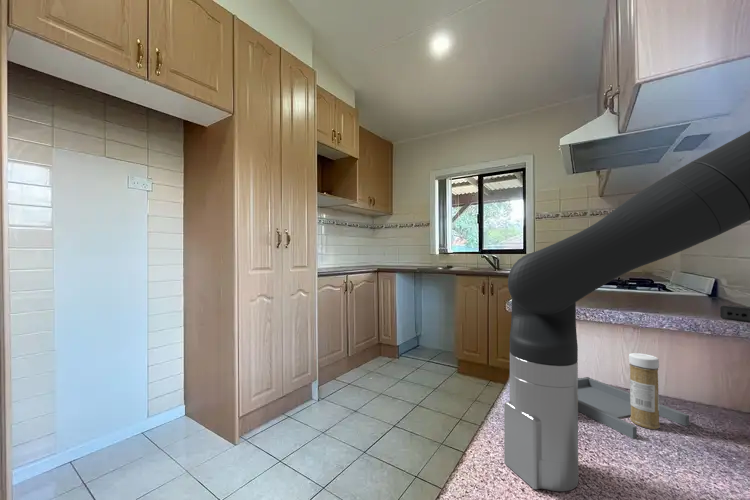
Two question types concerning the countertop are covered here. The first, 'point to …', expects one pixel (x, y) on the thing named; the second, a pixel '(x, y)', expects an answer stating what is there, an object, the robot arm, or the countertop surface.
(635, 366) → the sprinkles bottle
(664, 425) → the countertop surface
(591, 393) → the grey open-ended tray
